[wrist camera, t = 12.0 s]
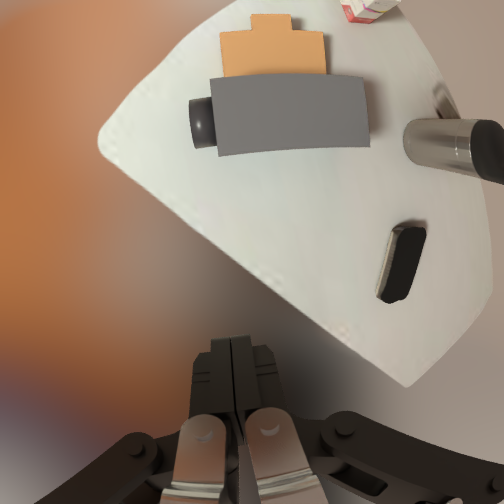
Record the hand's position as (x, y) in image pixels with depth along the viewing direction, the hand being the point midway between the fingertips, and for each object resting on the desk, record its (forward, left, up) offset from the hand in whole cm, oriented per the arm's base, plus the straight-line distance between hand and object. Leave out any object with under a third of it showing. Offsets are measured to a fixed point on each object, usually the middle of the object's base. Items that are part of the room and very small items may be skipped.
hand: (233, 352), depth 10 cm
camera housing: (-8, -12, -35) cm, 38 cm away
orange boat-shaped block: (-10, -18, -34) cm, 40 cm away
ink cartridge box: (-27, -36, -35) cm, 57 cm away
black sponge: (-33, +16, -36) cm, 51 cm away
